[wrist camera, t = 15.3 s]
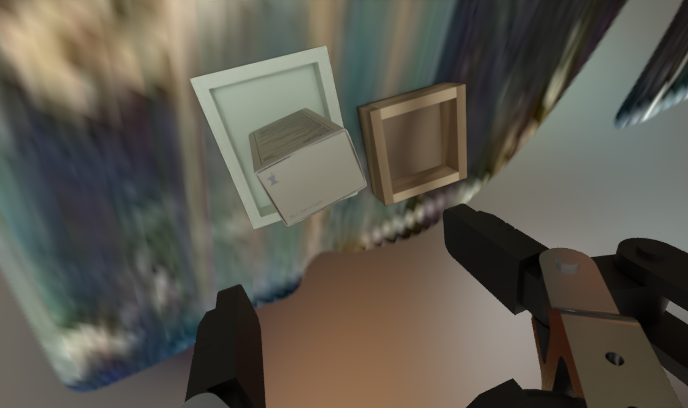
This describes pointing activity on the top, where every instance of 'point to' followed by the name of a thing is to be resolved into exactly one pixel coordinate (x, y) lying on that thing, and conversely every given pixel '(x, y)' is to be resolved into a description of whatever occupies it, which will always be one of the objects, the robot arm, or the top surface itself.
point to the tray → (263, 112)
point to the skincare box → (305, 164)
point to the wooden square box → (415, 141)
